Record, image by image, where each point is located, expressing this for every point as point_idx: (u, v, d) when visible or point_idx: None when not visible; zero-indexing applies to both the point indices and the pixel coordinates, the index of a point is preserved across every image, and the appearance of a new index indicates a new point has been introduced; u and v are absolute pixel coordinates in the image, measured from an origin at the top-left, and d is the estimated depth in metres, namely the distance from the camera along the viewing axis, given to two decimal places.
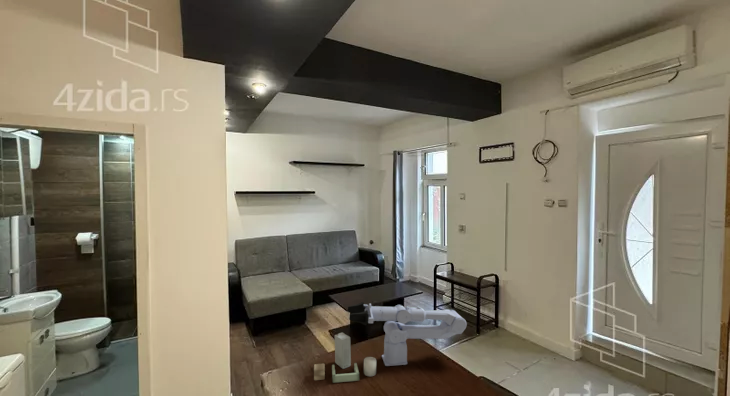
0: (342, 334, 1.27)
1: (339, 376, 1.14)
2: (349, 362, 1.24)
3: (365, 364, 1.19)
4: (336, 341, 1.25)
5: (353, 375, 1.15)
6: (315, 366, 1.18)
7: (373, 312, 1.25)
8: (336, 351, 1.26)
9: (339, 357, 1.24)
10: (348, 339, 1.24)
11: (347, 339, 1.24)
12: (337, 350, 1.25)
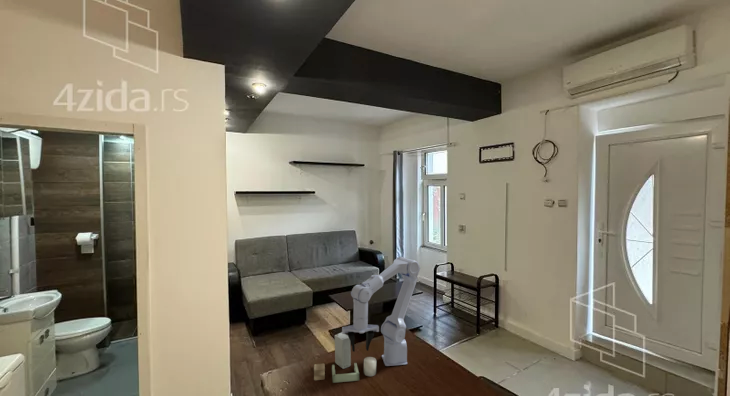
0: (342, 334, 1.27)
1: (339, 376, 1.14)
2: (349, 362, 1.24)
3: (365, 364, 1.19)
4: (336, 341, 1.25)
5: (353, 375, 1.15)
6: (315, 366, 1.18)
7: (367, 326, 1.18)
8: (336, 351, 1.26)
9: (339, 357, 1.24)
10: (348, 339, 1.24)
11: (347, 339, 1.24)
12: (337, 350, 1.25)
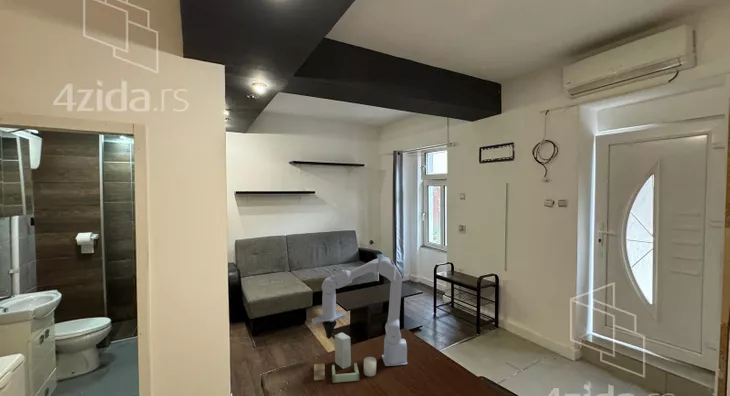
0: (342, 334, 1.27)
1: (339, 376, 1.14)
2: (349, 362, 1.24)
3: (365, 364, 1.19)
4: (336, 341, 1.25)
5: (353, 375, 1.15)
6: (315, 366, 1.18)
7: (335, 314, 1.29)
8: (336, 351, 1.26)
9: (339, 357, 1.24)
10: (348, 339, 1.24)
11: (347, 339, 1.24)
12: (337, 350, 1.25)
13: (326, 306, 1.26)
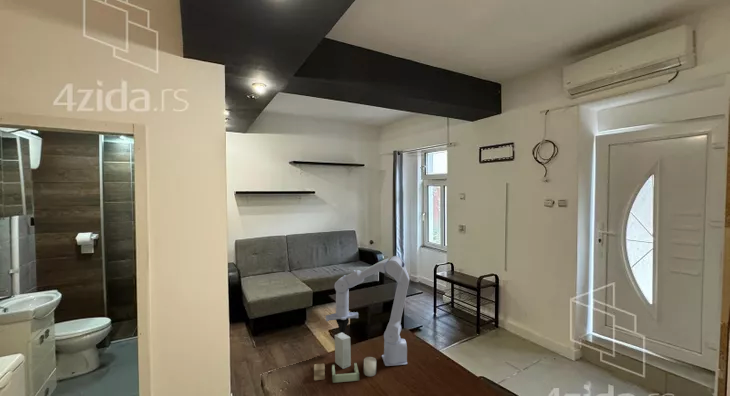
0: (342, 334, 1.27)
1: (339, 376, 1.14)
2: (349, 362, 1.24)
3: (365, 364, 1.19)
4: (336, 341, 1.25)
5: (353, 375, 1.15)
6: (315, 366, 1.18)
7: (348, 313, 1.34)
8: (336, 351, 1.26)
9: (339, 357, 1.24)
10: (348, 339, 1.24)
11: (347, 339, 1.24)
12: (337, 350, 1.25)
13: (338, 304, 1.32)
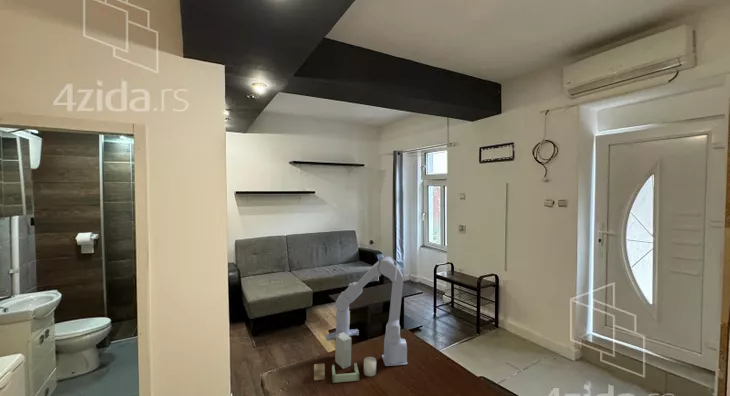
0: (343, 334, 1.26)
1: (339, 376, 1.14)
2: (349, 362, 1.24)
3: (365, 364, 1.19)
4: (337, 341, 1.25)
5: (353, 375, 1.15)
6: (315, 366, 1.18)
7: (349, 331, 1.31)
8: (337, 351, 1.25)
9: (339, 357, 1.24)
10: (349, 340, 1.23)
11: (348, 340, 1.23)
12: (338, 350, 1.24)
13: (339, 323, 1.29)
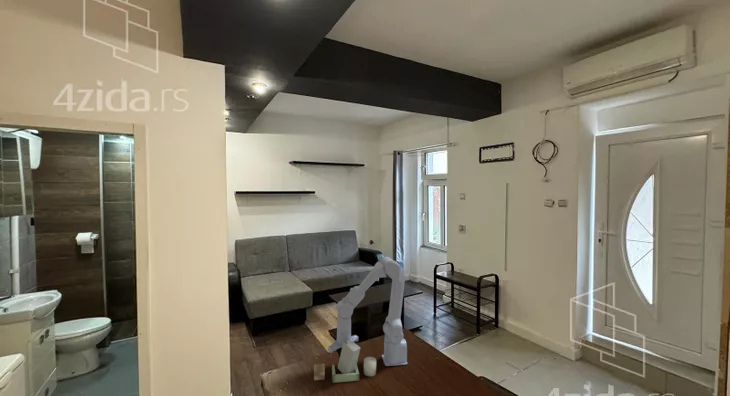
0: (351, 342, 1.19)
1: (339, 376, 1.14)
2: (353, 371, 1.18)
3: (365, 364, 1.19)
4: (344, 349, 1.17)
5: (353, 375, 1.15)
6: (315, 366, 1.18)
7: (350, 338, 1.24)
8: (342, 358, 1.18)
9: (344, 365, 1.17)
10: (358, 350, 1.16)
11: (357, 350, 1.16)
12: (343, 358, 1.17)
13: (343, 331, 1.21)
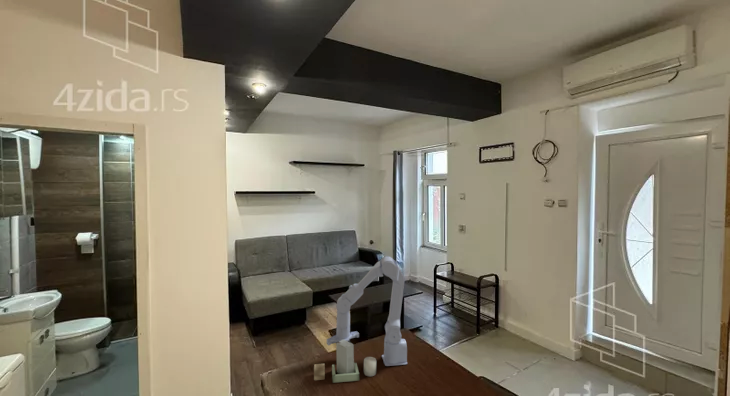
0: (344, 341, 1.21)
1: (339, 376, 1.14)
2: (352, 370, 1.19)
3: (365, 364, 1.19)
4: (338, 349, 1.19)
5: (353, 375, 1.15)
6: (315, 366, 1.18)
7: (349, 334, 1.29)
8: (338, 360, 1.19)
9: (342, 365, 1.18)
10: (351, 346, 1.18)
11: (351, 346, 1.18)
12: (340, 359, 1.19)
13: (341, 326, 1.26)
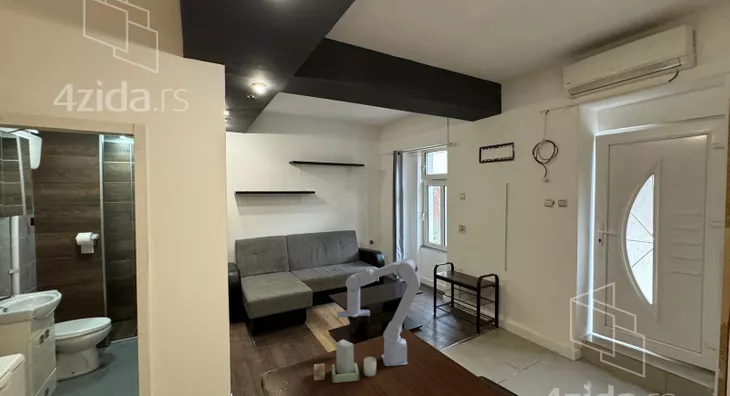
0: (344, 341, 1.21)
1: (339, 376, 1.14)
2: (352, 370, 1.19)
3: (365, 364, 1.19)
4: (338, 349, 1.19)
5: (353, 375, 1.15)
6: (315, 366, 1.18)
7: (359, 311, 1.33)
8: (338, 360, 1.19)
9: (342, 366, 1.18)
10: (351, 346, 1.18)
11: (350, 346, 1.18)
12: (339, 359, 1.19)
13: (350, 302, 1.32)
